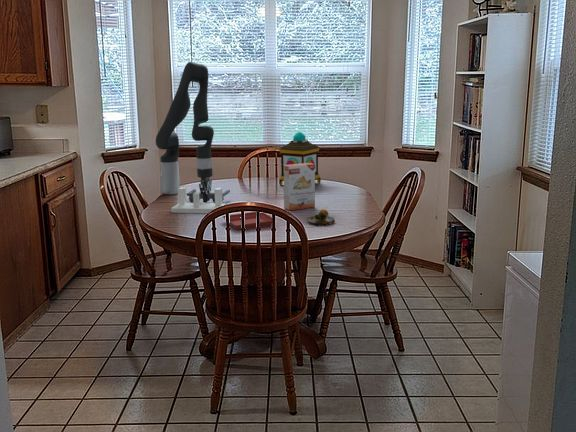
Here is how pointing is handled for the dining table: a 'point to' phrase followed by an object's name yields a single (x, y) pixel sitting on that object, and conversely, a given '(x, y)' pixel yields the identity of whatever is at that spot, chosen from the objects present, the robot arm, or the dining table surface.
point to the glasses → (209, 195)
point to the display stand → (196, 202)
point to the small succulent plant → (321, 218)
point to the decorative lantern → (299, 154)
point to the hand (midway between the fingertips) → (206, 201)
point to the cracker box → (299, 186)
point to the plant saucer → (250, 220)
